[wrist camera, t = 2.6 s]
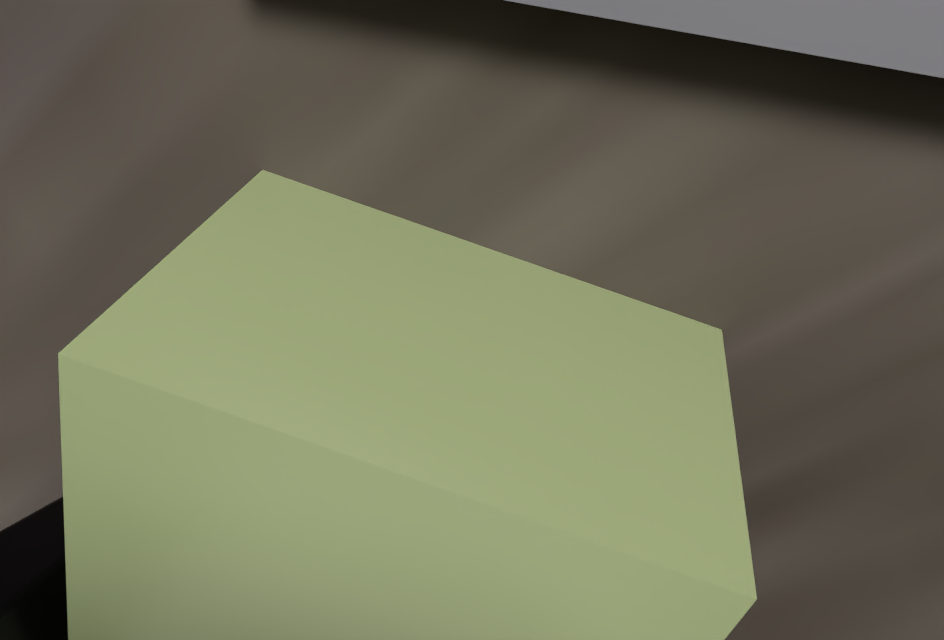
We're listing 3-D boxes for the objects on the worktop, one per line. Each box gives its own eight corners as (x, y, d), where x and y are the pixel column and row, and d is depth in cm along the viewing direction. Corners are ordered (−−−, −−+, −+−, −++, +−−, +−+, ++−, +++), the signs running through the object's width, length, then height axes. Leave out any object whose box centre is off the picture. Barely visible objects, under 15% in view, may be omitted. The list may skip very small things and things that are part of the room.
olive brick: (518, 677, 12) (475, 948, 9) (212, 569, 12) (74, 804, 9) (721, 322, 8) (757, 599, 5) (268, 164, 8) (57, 353, 5)
